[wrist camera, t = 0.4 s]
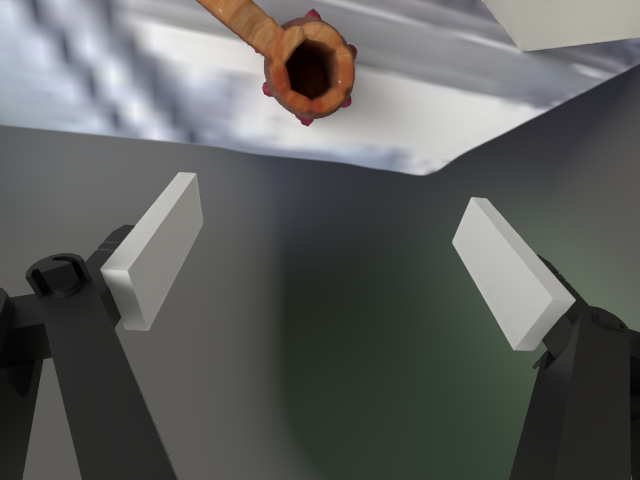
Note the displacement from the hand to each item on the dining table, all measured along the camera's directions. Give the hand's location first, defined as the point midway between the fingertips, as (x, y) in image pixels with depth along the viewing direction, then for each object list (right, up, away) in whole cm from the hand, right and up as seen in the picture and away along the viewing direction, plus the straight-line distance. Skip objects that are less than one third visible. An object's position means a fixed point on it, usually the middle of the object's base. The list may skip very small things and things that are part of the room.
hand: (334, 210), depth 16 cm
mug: (-5, +19, +20) cm, 28 cm away
